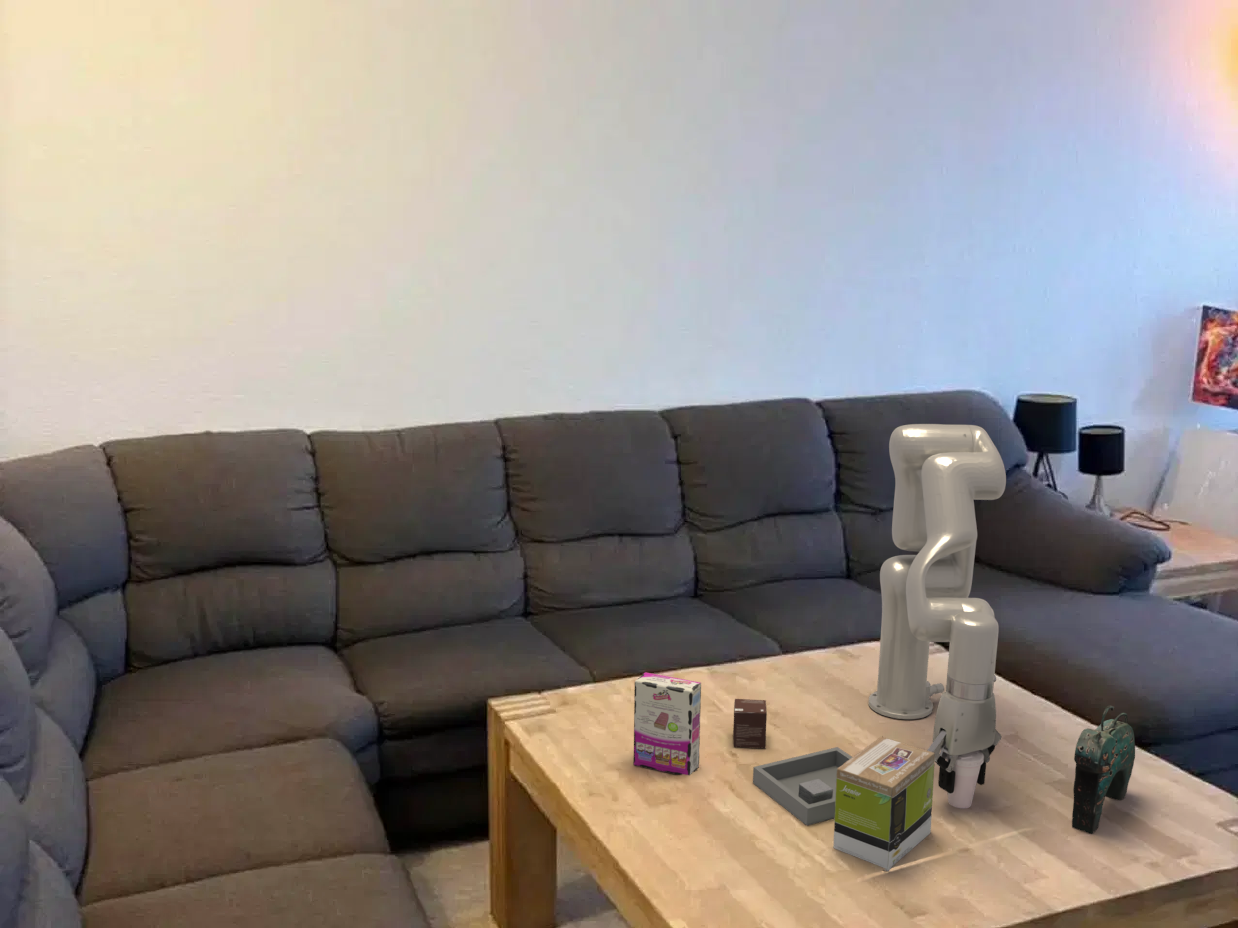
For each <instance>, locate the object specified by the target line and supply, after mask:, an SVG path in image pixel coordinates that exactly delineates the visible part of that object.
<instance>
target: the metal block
mask: <svg viewBox="0 0 1238 928" xmlns="http://www.w3.org/2000/svg"><path fill="white" fill-rule="evenodd" d="M798 796H799V797H800V798H801V799H802V800H804V801H805V802H806V803H808V804H813V803H817V802H821V801H824V800H828V799H832V798H833V789H832V788H831V787H829V786H828V785H826V784H825V783H824V782H822V781H821V780H820V779H816V780H812V781H808V782H804V783H800V784H799V795H798Z"/></svg>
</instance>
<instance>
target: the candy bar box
mask: <svg viewBox="0 0 1238 928" xmlns="http://www.w3.org/2000/svg"><path fill="white" fill-rule="evenodd" d="M701 699H702V682H700V681H696V680H695V681H694V680H688V679H684V678H678V677H674V676H673V677H672V676H667V675H663V674H656V673H651V672H646V671H645V672H644V673H642V675H641V676H639V677H638V678H637V679H636V680H635V681H634V707H633V709H634V710H633V711H634V714H633V715H634V717H633V720H634V721H633V757H632V758H633V760H632V761H633V765H634V766H635V767H641V768H644V769H650V770H655V771H657V772H664V773H668V774H672V775H677V776H682V775H685V776H691V774H692V773H694V772H696V771H698V768H699V767H700V745H701V744H700V740H701V738H700V737H701V736H700V734H701V707H702V706H701V704H702V701H701Z"/></svg>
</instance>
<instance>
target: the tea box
mask: <svg viewBox="0 0 1238 928" xmlns="http://www.w3.org/2000/svg"><path fill="white" fill-rule="evenodd" d="M935 763H936V762H935V753H933V752H930V751H927V749H924V748H919V747H916V746H912V745H909V744H906V743H904V742H900V741H897V740H893V739H889V738H886V737H884V736H883V735H882V736H880V737H879V738H877V739H876V740H874V741H873V742H871V743H870V744H869V745H867V746H866V747H865V748H863V749H862V750H861V751H859V752H858V753H856V754H855V755H854V756H852V758H851V759H849V760H848V761H847V762H845V763H844V764H843V765H842V766H840V767H838V768H837V775H836V797H835V818H834V820H833V821H834V822H833V823H834V825H833V826H834V827H833V847H832V848H833V849H835V850H837V851H841V852H843V853H845V854H848V855H850V856H853V857H856V858H859V859H860V860H863V861H865V862H867V863H871V864H874V865H875V866H878V867H880V868H883V871H885V872H889V871H891V869H892V868H893V866H894V865H896V863H898V861H900V860H901V859H903V858H904V857H905V856H906V855H907V854H908V853H909V852H910V851H912V850H913V848H915V847H916V846H917V845H919V844H920V843H921V842H922V841H923V840H924V839H926V837H928V836H929V835H930V834H931V831H932V810H933V795H934V776H935Z"/></svg>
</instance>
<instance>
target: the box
mask: <svg viewBox="0 0 1238 928" xmlns="http://www.w3.org/2000/svg"><path fill="white" fill-rule="evenodd" d="M733 706H734V707H733V728H732V729H733V731H732V734H733V735H732V736H733V748H749V749H763V750H764V749H766V743H767V740H766V739H767V715H768V714H767V700H766V699H745V698H734V703H733Z"/></svg>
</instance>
